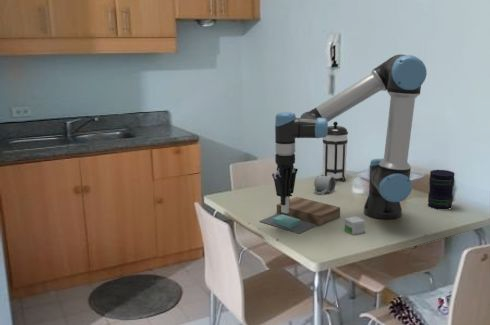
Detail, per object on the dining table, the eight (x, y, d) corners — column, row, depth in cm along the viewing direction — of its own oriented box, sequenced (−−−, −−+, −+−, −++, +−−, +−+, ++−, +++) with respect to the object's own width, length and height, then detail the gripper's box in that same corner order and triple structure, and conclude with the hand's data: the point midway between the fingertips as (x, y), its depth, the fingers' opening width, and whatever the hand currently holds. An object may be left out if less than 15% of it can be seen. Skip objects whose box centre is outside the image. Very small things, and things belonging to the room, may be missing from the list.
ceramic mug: (320, 187, 248) (320, 172, 246) (335, 190, 244) (336, 175, 242) (310, 193, 240) (310, 178, 238) (325, 196, 235) (326, 180, 233)
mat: (317, 225, 199) (317, 224, 199) (299, 233, 190) (299, 233, 190) (278, 214, 212) (278, 213, 212) (259, 221, 204) (259, 221, 204)
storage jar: (456, 206, 218) (459, 172, 214) (444, 211, 212) (446, 177, 208) (435, 201, 225) (438, 168, 222) (422, 205, 219) (425, 172, 216)
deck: (339, 216, 208) (340, 207, 207) (320, 225, 198) (320, 216, 197) (297, 205, 223) (297, 196, 222) (276, 213, 213) (276, 204, 212)
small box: (343, 230, 194) (344, 218, 192) (356, 227, 196) (356, 215, 195) (352, 235, 189) (353, 222, 187) (365, 232, 191) (365, 220, 190)
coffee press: (312, 178, 265) (312, 121, 258) (334, 173, 274) (336, 118, 267) (335, 185, 251) (336, 125, 244) (358, 180, 260) (360, 122, 253)
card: (290, 223, 195) (290, 228, 195) (300, 219, 199) (300, 224, 199) (272, 218, 201) (272, 222, 201) (282, 214, 205) (282, 219, 206)
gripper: (288, 149, 200) (288, 206, 206) (266, 154, 191) (266, 214, 197) (303, 151, 195) (302, 210, 201) (281, 157, 186) (281, 218, 192)
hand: (285, 212), depth 199 cm, fingers closed
